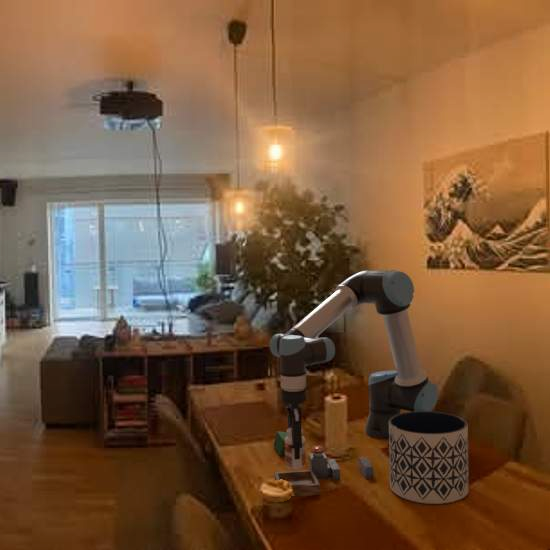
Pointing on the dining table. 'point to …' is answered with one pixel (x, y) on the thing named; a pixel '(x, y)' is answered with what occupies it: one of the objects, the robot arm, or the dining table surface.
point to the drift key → (317, 451)
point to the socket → (335, 467)
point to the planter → (428, 457)
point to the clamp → (280, 442)
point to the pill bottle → (289, 451)
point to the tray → (301, 482)
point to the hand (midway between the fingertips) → (295, 464)
